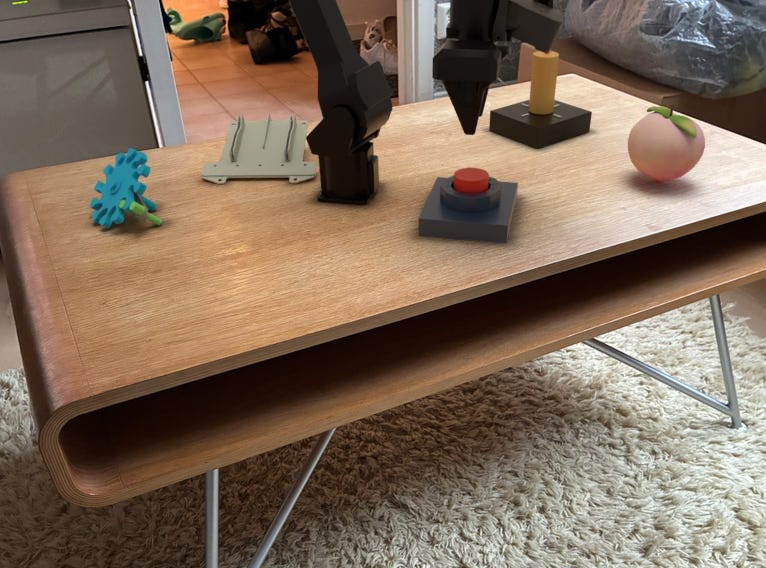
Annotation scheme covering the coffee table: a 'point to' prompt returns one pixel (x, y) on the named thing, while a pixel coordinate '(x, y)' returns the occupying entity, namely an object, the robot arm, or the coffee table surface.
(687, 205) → the coffee table surface
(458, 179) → the release button
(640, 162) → the decorative fruit
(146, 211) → the gear
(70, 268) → the coffee table surface
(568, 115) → the dark brown square base
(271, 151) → the metal bracket
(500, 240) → the block
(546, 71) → the yellow cylinder
